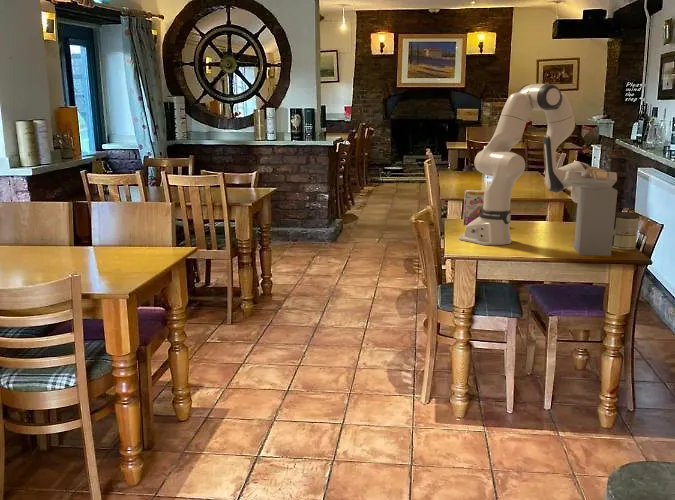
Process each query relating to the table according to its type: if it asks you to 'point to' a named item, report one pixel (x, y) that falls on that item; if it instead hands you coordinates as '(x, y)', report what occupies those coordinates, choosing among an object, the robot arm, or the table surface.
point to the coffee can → (625, 230)
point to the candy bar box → (472, 205)
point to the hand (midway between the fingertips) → (594, 170)
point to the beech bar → (597, 173)
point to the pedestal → (595, 220)
